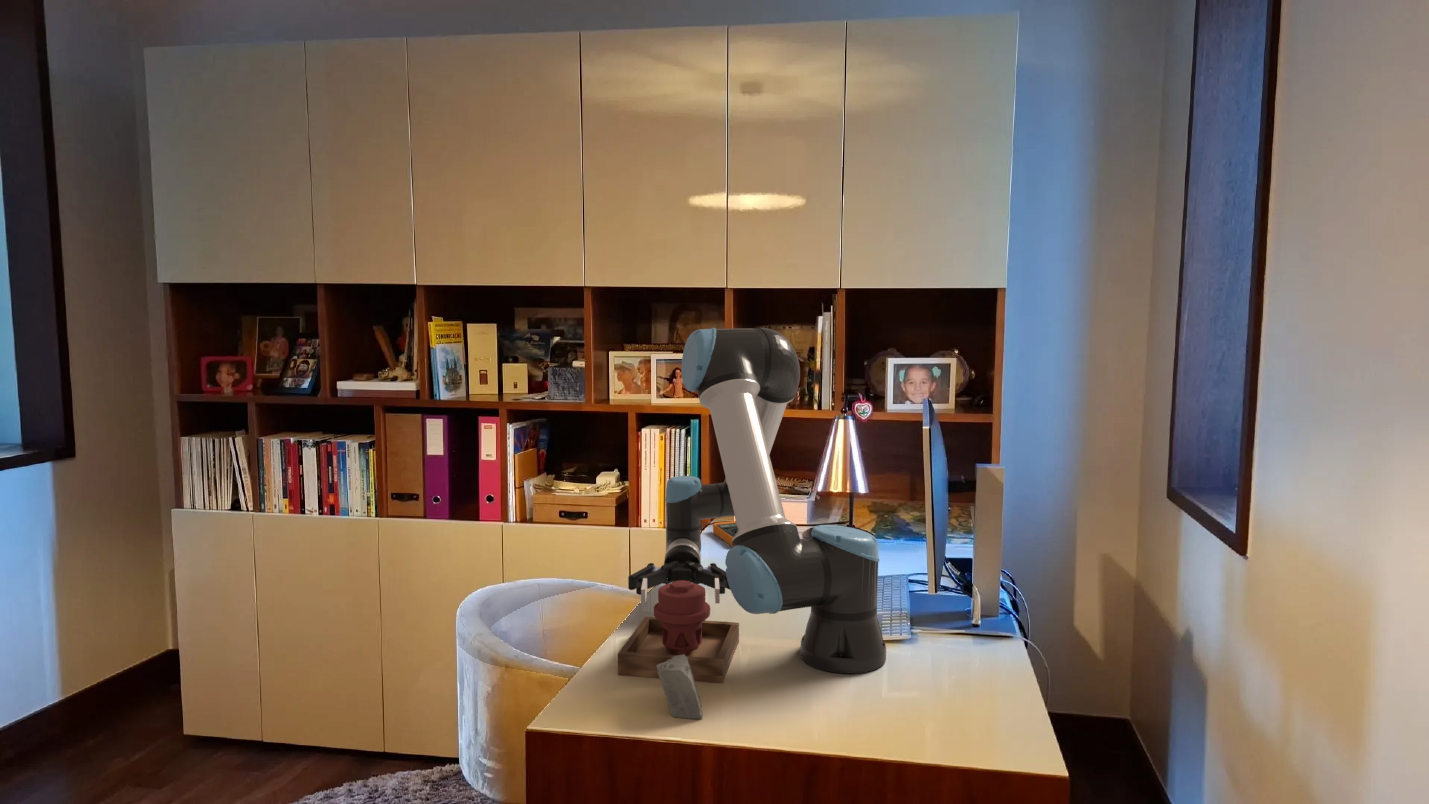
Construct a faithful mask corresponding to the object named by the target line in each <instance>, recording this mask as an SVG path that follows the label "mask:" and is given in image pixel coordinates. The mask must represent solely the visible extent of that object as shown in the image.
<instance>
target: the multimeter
mask: <svg viewBox="0 0 1429 804" xmlns="http://www.w3.org/2000/svg"><path fill="white" fill-rule="evenodd" d="M737 531H738V528H737V523H736V520H732V521H721V522H715V523H713V524H712V532H713V534H714V535H715V536H717V537H718V538H720V539H721V540H723V541H724V542H725V543H727V544H728V545H729V546H731V548H732V547H733V544H732V539H733V538H734V536H735V534H736V533H737Z"/></svg>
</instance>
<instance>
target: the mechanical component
mask: <svg viewBox="0 0 1429 804" xmlns="http://www.w3.org/2000/svg"><path fill="white" fill-rule="evenodd" d="M657 594H658V595H657V598H658V599H657V603H655V604H654V605H653V617H655V618H656V619H657V620H658V621H660V622H662V643H663V645H664V646H666V648H667V649H669V650H671V651H673V652H675V653H676V655H683V654H685V656H687V654H688V653H689V652H690V651H692V650H695V649H697V648H698V647H699V645H700V644H701V643H702V622H703V621H704V620H706V621H707V619H708V618H709V617H710V616H711V606H710V604H709V603H708V602H706V588H705V586H702V585H701V584H695V583H692V582H690V581H684V580H680V581H674V582H672V583H669V584H663V585H662V586H660V587H659V588H658V589H657Z"/></svg>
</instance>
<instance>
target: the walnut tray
mask: <svg viewBox="0 0 1429 804" xmlns="http://www.w3.org/2000/svg"><path fill="white" fill-rule="evenodd" d="M739 643H740V622H735V621H734V622H733V621H717V620H707V619H706V620H704V621H703V622H702V643H701V644H700V645H699V647H698V648H697V649H695V650H692V651H690V652H689V653H688V654H687V656H686V657H687V659H688V662H689V665H690V667H691V670H692V674H693V677H694V680H695V682H702V683H703V682H704V683H714V684H716V683H717V684H723V682H724V680H725V678H726V675H727V672H728V670H729V667H730V665H731V663H732V661H733V657H734V656H733V655H735V653H736V651H735V650H737V648H738V646H737V645H739ZM674 656H678V655H676V653H675V652H673V651H671V650H669V649H667V648H666V646H664V645H663V643H662V622H660V621H658V620H657V619H656V618H655V617H654V616H644V617H643V619H642V620H641V621H640V622H639V624H638V625H637V626H636V628H635V629H634V631H633V632H632V634H631V635H630V636H629V638H628V639H627V641H626V642H625V643H624V645H622V647H621V649H620V650H619V652H618V653H617V675H618V676H627V677H640V678H641V677H642V678H651V679H653V678H654V679H659V675H658V670H657V665H658V664H660V663H663V662H666V661H667V660H668V659H671V658H672V657H674Z"/></svg>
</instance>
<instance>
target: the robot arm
mask: <svg viewBox="0 0 1429 804" xmlns="http://www.w3.org/2000/svg"><path fill="white" fill-rule="evenodd" d="M683 348H684V349H683V353H682V357H681V358H682V359H681V380H682V383H683V387H685V390H687V391H688V392H692V393H695V392H696V394H697V395H698V396H697V397H698V400H699V404H700V405H701V406H702V407H704V408H706V409H707V410H709V412H710V416H711V420H712V424H713V429H714V433H715V437H716V442H717V445H718V451H719V455H720V459H721V463H722V467H723V473H724V476H725V478H724V481H723V482H720V483H719V482H718V483H709V484H708V483H707V484H702V482H701V479H700V478H699V477H696V476H693V475H692V476H691V475H679V476H673V477H670V478H669V479H668V480H667V482H666V488H665V517H666V518H665V520H666V524H665V525H666V526H665V545H666V546H665V552H664V553H665V554H664V560H663V561H664V562H663V565H661V566H660V567H659V566H658V567H657V566H656V564H655V563H653V562H650V563H648V564H647V565H646V566H645V567H642V568H641V569H640V570H638V571H636V572H634V573H632V574H630V575H628V577H627V578H628V579H627V581H628V582H627V583H628V585H627V586H628V590H630V591H633V590H635V591H636V592H635V593H636V594H637V595H638V596H639V595H640V604H642V605H644V604H646V602H647V596H648V590H649V589H651V588H654V587H657V586H659V585H662V584H663V585H666V584H670V583H672V582H674V581H680V580H684V581H690V582H692V583H695V584H698V585H701V584H702V585H704V586H706V587H710V588H712V589H714V603H715V604H720V597H721V596H720V595H724V594H726V589H727V590H729V591H730V592H731V594H732V596H733V598H734V600H735V602H737V604H738V605H739V606H740V607H741V608H742V609H743V610H744V611H746V612H747V613H748V614H749V613H750V614H752V615H760V614H771V615H773V614H777V613H779V612H783V611H784V612H786V611H790V610H797V609H803V608H810V614H809V616H808V617H809V618H808V620H807V624H806V627H805V631H804V635H802V637H801V640H800V654H799V655H800V657H801V659H802V660H803V662H805V663H806V664H807V665H809V666H811V667H814V668H816V669H818V670H822V671H826V672H831V673H836V674H837V673H839V674H860V673H867V672H872V671H875V670H878V669H879V668H881V667H882V666H884V664H885V663H886V661H887V645H886V642H885V640H884V637H883V632H882V628H881V626H880V622H879V618H878V594H879V593H878V591H879V589H878V588H879V587H878V586H879V580H878V579H879V563H880V557H879V555H880V554H879V544H878V540H877V539H876V537H875V536H874V535H872V534H871V533H869V532H867V531H864V530H862V529H858V528H854V527H849V526H845V525H844V526H843V525H836V524H819V525H815V526H812V529H811V532H810V535H811V537H806V538H801V537H800V534H799V530H798V527H797V524H796V523H794V522H792V521H790V520H788V519H787V518H786V515H785V511H784V507H783V502H782V499H781V496H780V491H779V487H778V484H777V480H776V476H775V471H774V469H773V464H772V461H771V456H770V454H771V451H772V448H773V445H774V443H775V440H776V436H777V434H778V431H779V427H780V426H781V422H782V419H783V417H784V413H785V411H786V408H787V406H788V403H790V402H792V401H794V399H795V397H796V395H797V392H798V388H799V385H800V380H801V365H800V361H799V357H798V355H797V352H796V350H795V349H794V347H793V344H792V343H791V342H790V341H789V340H788V339H787V338H786V337H785V336H784V335H783V334H782V333H780V332H778V331H777V330H774V329H770V328H768V327H767V328H766V327H753V328H752V327H751V328H749V327H748V328H747V327H746V328H743V327H742V328H715V327H711V328H703V329H702V328H700V329H696V330H694V331H692V332H691V333H690V335H688V337H687V339H686V342H685V344H684V347H683ZM729 517H734V519H735V521H736V523H737V528H738V531H737V533H736V534H735V536H734V538H733V539H732V544H733V547H732V546H731V548H730V549H729V550H727V553H726V555H725V566H726V568H725V570H723V569H722V568H720V567H719V566H717V563H714V562H712V563H710V564H709V565H707V567H706V566H705V567H703V565H702V564H701V562H702V561H701V558H702V556H701V555H702V554H701V550H702V540H701V539H702V538H701V536H702V535H701V533H702V532H701V527H702V525H701V524H702V520H710V519H717V518H719V519H720V518H729Z"/></svg>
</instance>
